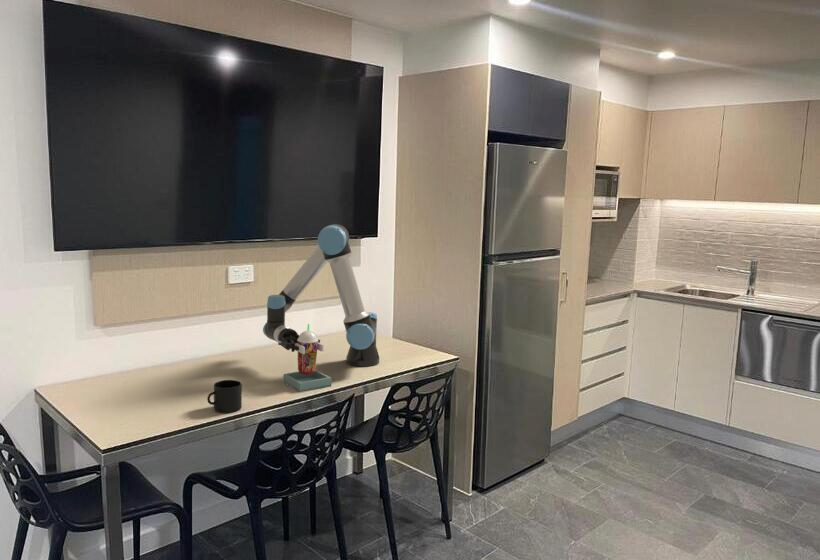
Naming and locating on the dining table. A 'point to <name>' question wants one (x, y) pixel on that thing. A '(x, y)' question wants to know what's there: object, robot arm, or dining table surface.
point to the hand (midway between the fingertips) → (313, 349)
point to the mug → (227, 396)
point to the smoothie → (307, 352)
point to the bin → (307, 381)
